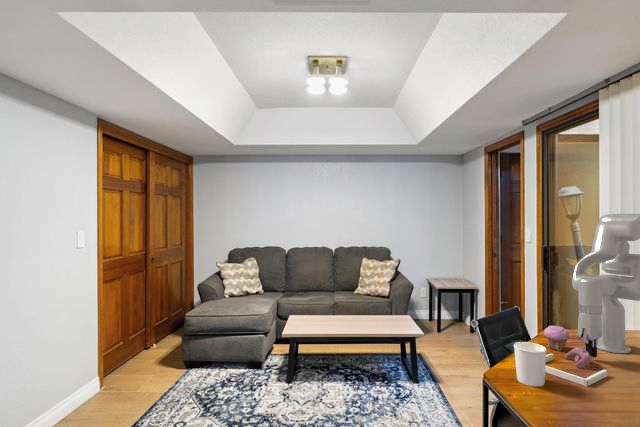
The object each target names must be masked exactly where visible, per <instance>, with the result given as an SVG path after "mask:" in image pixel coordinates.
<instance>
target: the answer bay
mask: <svg viewBox="0 0 640 427" xmlns="http://www.w3.org/2000/svg"><path fill="white" fill-rule="evenodd" d="M552 360H554V354H553V353H548V354H546V363H547V362H550V361H552ZM545 373H547V374H550V375H553V376H557V377H559V378H562V379H565V380H568V381H570V382H573V383H576V384H580V385H582V386H584V387H588V386H591V385H593V384H594V383H596V382H598V381H600V380H602V379H604V378H607V377H608V370H607V369H602V370H599V371H598V372H596V373H595V372H594V373H593V374H591V375H590V376H587V377H586V378H584V377H581V376H578V375H575V374H572V373H569V372H566V371H563V370H561V369H557V368H554V367H550V366H548V365H546V368H545Z"/></svg>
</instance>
